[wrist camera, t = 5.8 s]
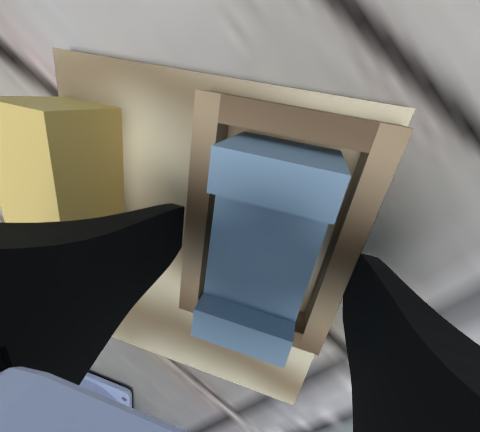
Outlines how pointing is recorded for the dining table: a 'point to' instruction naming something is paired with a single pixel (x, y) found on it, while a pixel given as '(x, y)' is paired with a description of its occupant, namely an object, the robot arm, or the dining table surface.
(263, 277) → the blue notched block
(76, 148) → the yellow rectangular block
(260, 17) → the dining table surface
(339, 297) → the jig
